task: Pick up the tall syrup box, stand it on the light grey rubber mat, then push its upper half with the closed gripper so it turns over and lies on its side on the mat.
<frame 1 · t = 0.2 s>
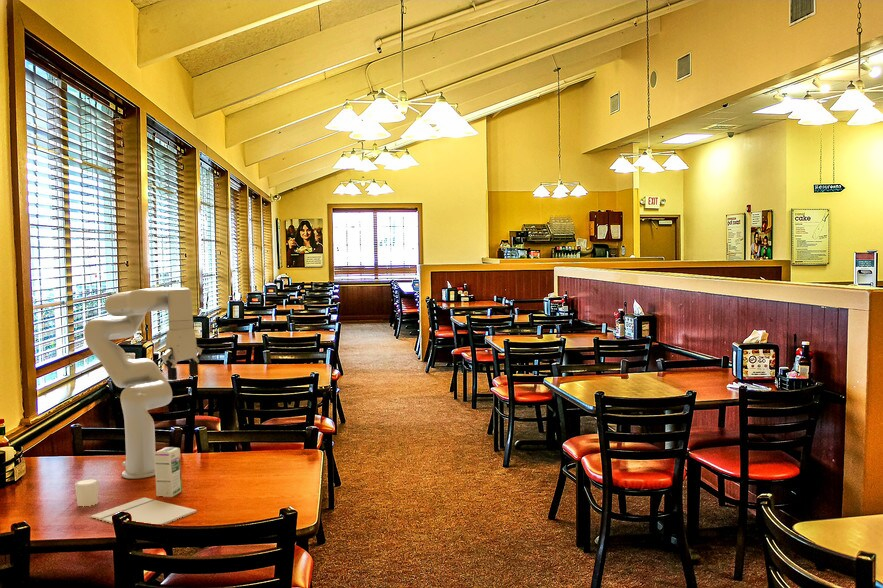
hand: (183, 377, 236), 36 cm above the table, tool pointing down, fingers open, 9 cm apart
syrup box: (169, 494, 228), on the table
white short cylinder: (87, 504, 221), on the table
mat: (144, 514, 210), on the table
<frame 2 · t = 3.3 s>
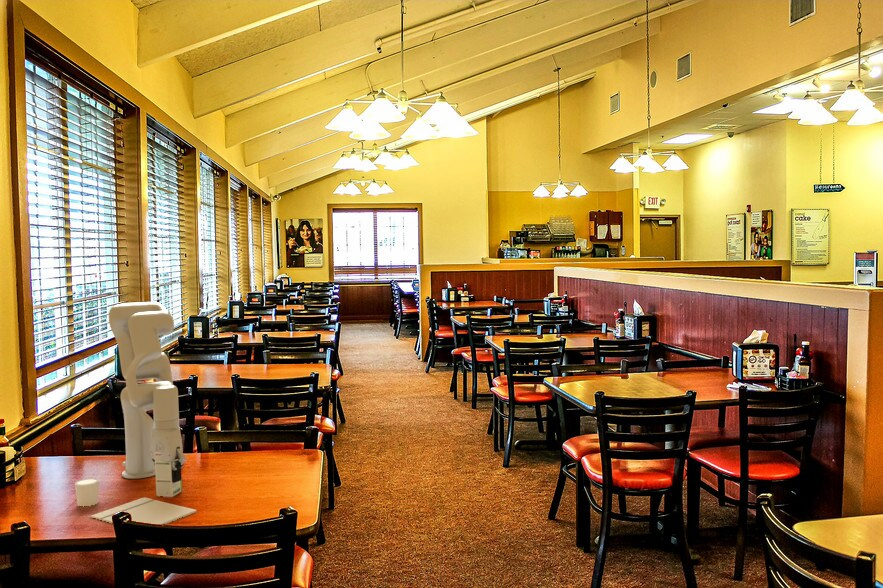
hand: (168, 479, 228), 5 cm above the table, tool pointing down, fingers closed on syrup box, 7 cm apart
syrup box: (169, 494, 228), on the table, touching gripper
everything else where it was.
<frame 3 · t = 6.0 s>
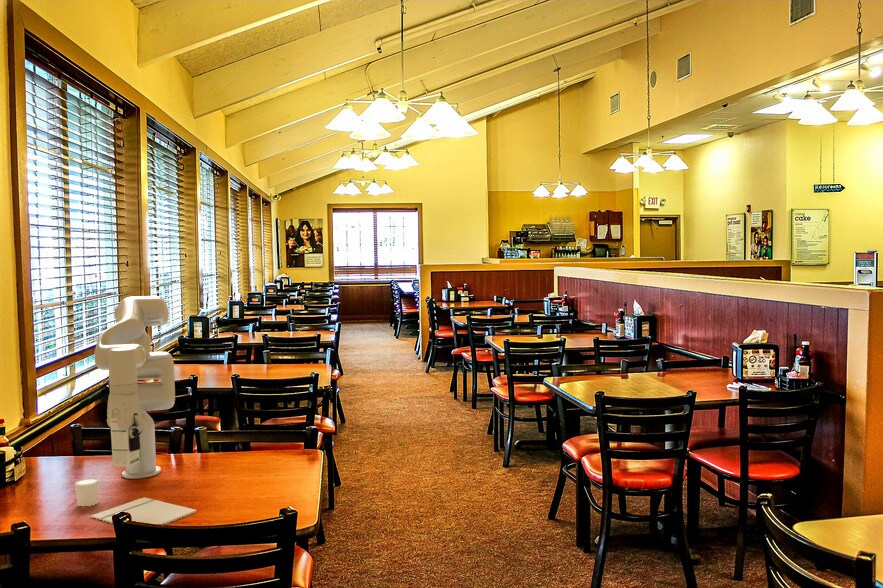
hand: (126, 448, 213), 19 cm above the table, tool pointing down, fingers closed on syrup box, 7 cm apart
syrup box: (126, 464, 213), point 14 cm above the table, touching gripper
everything else where it was.
when the fingers open (6 cm above the table, at t = 8.7 s): syrup box stays where it is, resting on mat.
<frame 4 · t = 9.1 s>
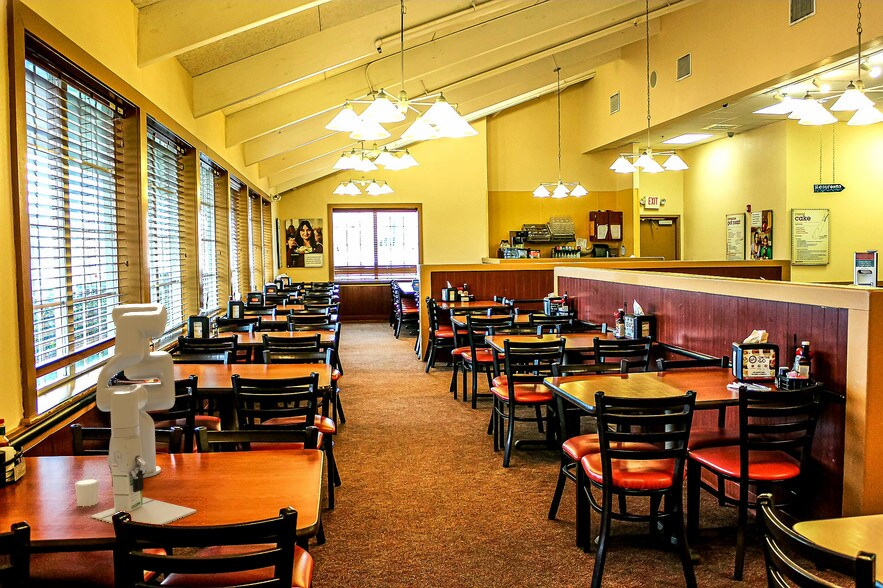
hand: (127, 488, 213), 7 cm above the table, tool pointing down, fingers open, 9 cm apart
syrup box: (128, 508, 214), point 1 cm above the table, touching mat
everything else where it was.
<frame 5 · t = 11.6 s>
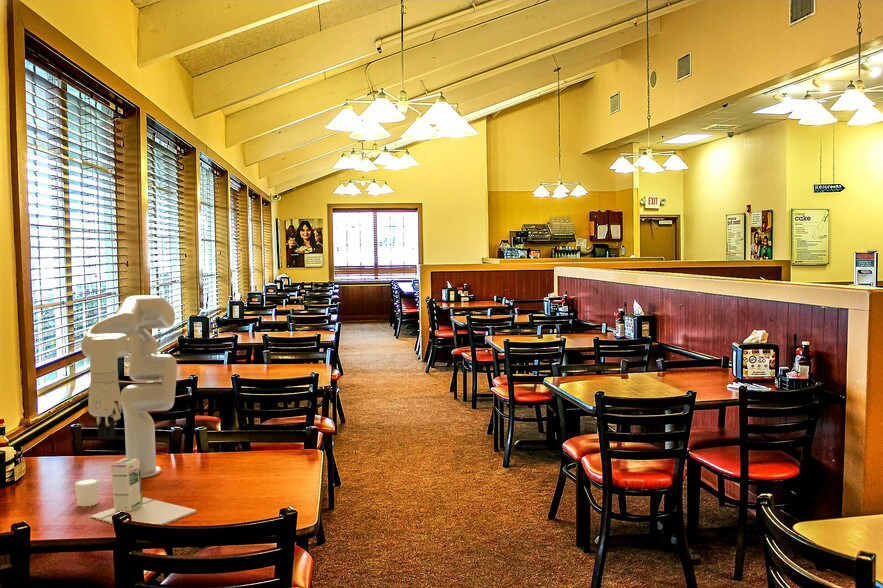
hand: (107, 437, 217), 21 cm above the table, tool pointing down, fingers closed
nothing on the table moved.
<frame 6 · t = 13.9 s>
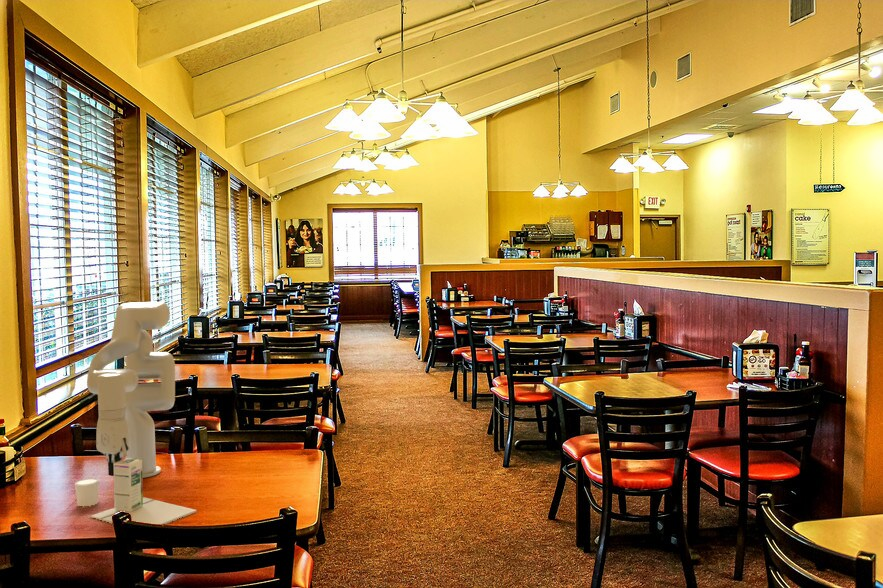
hand: (115, 474, 216), 10 cm above the table, tool pointing down, fingers closed
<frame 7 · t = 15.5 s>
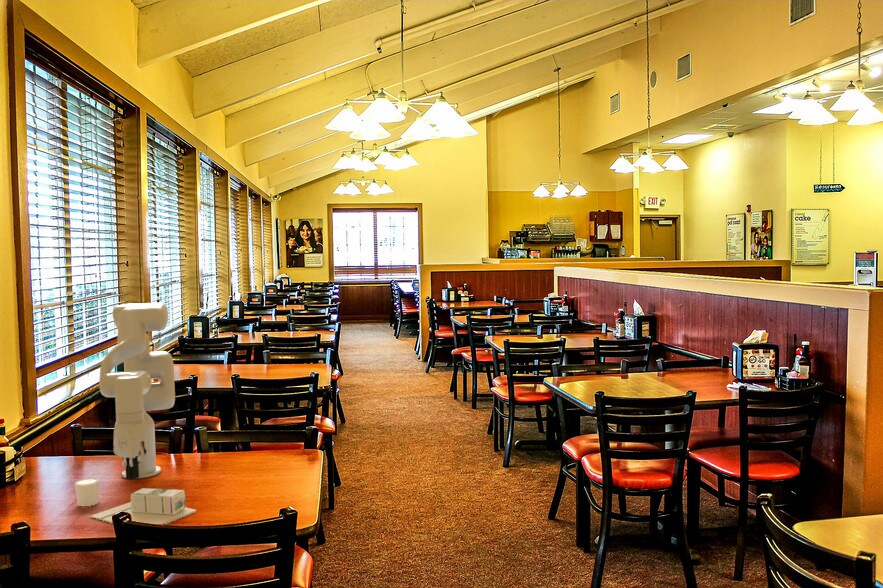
hand: (132, 478, 212), 10 cm above the table, tool pointing down, fingers closed
syrup box: (136, 499, 213), point 4 cm above the table, touching mat
everything else where it was.
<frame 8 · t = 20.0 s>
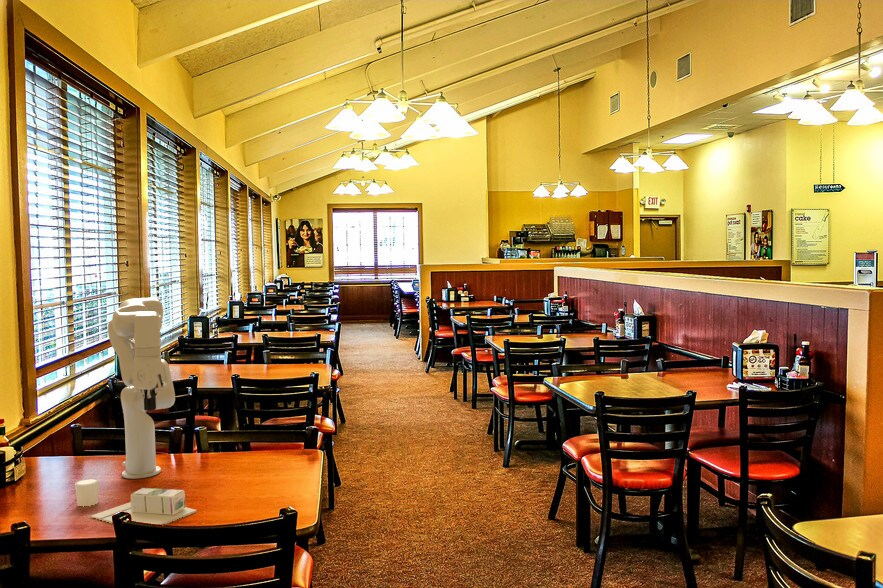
hand: (150, 409, 228), 27 cm above the table, tool pointing down, fingers closed
nothing on the table moved.
at the end: syrup box tilted 90°; syrup box inside the target area (6.2 cm from its centre), point 3.6 cm above the table; the gripper is holding nothing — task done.
